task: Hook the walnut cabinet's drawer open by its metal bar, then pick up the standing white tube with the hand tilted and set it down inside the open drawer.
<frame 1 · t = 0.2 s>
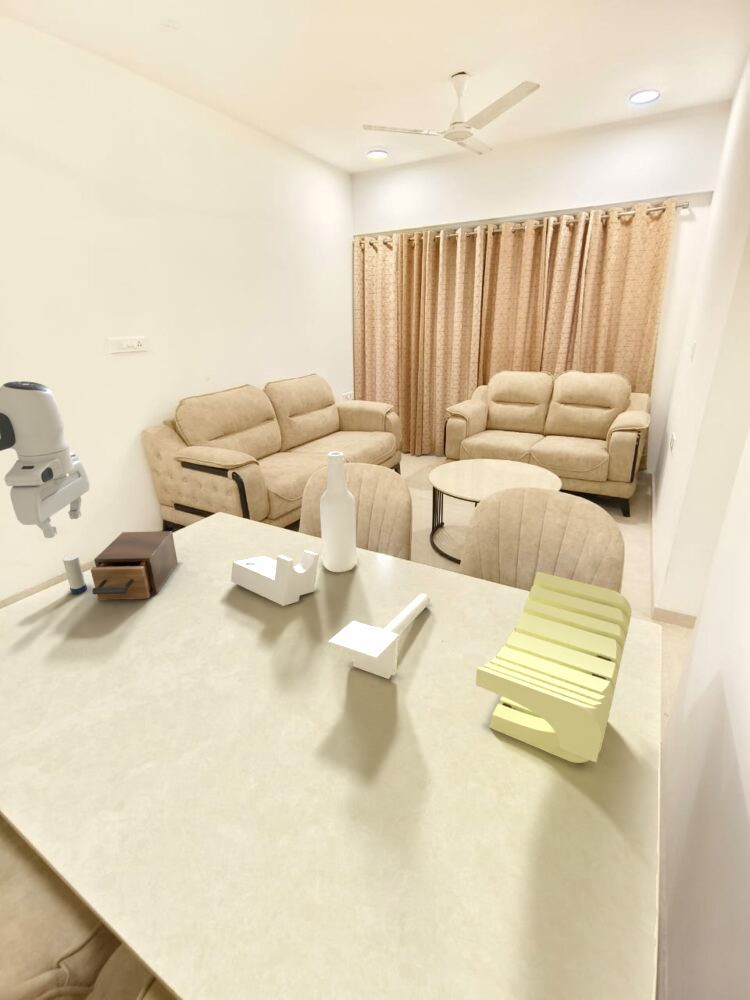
hand: (64, 526, 105), 20 cm above the table, tool pointing down, fingers open, 8 cm apart
alcohol: (340, 565, 130), on the table
slatted curved stool: (550, 721, 81), on the table
white cradle stand: (276, 587, 120), on the table
tube: (79, 590, 120), on the table
cabinet: (142, 578, 124), on the table
drawer: (127, 574, 117), point 5 cm above the table, slide at 2.0 cm
white block on rod: (393, 644, 100), on the table
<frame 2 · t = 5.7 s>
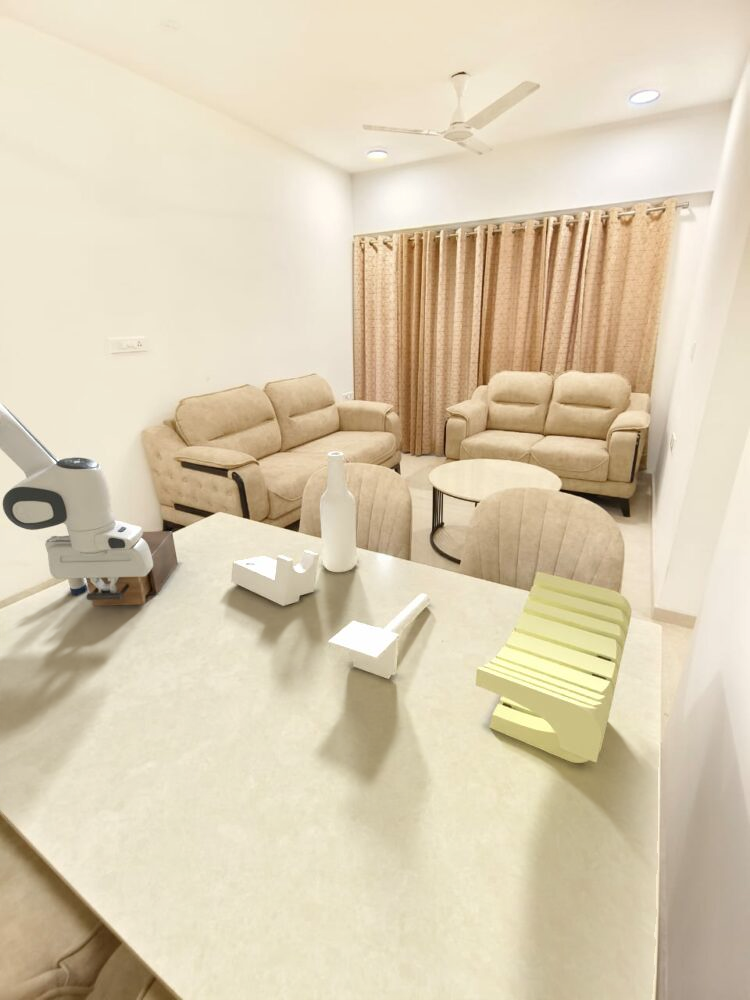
hand: (108, 592, 108), 6 cm above the table, tool pointing down, fingers closed, pressing on drawer
drawer: (123, 579, 115), point 5 cm above the table, slide at 4.3 cm, touching gripper
everything else where it was.
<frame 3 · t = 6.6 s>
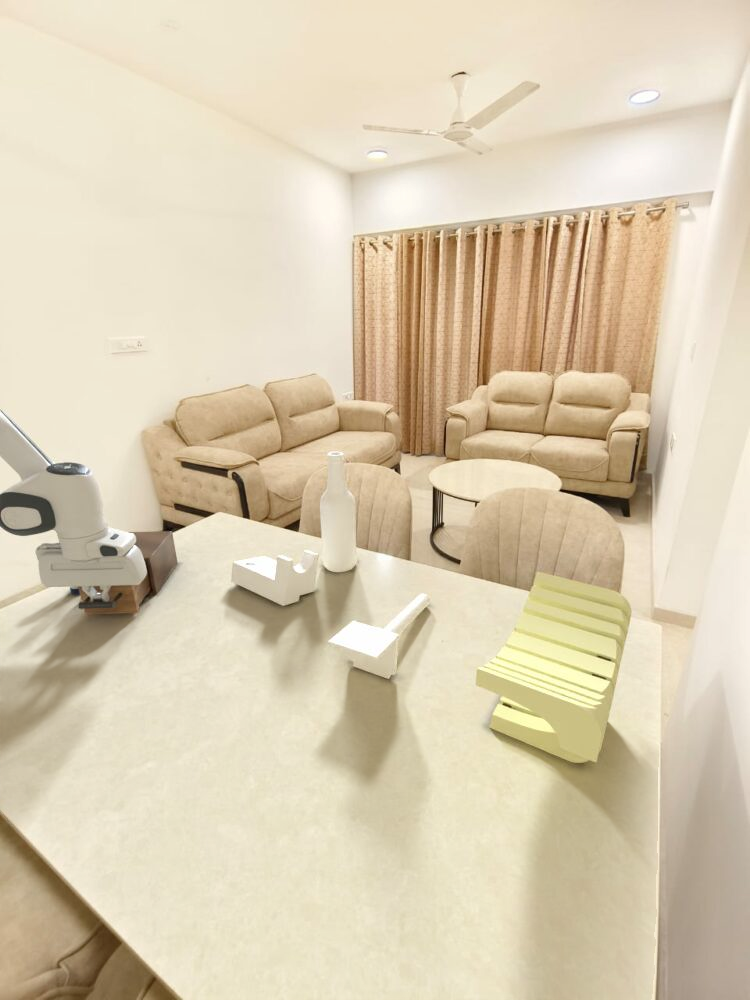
hand: (100, 601, 105), 6 cm above the table, tool pointing down, fingers closed, pressing on drawer
drawer: (116, 587, 112), point 5 cm above the table, slide at 7.7 cm, touching gripper
everything else where it was.
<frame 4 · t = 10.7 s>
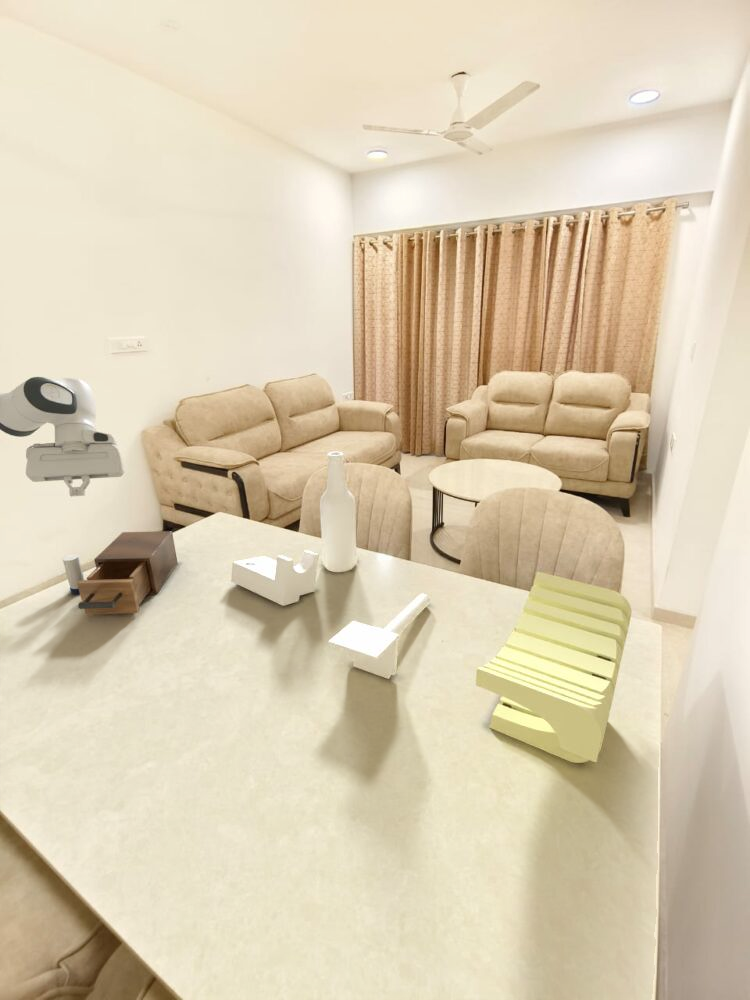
hand: (77, 495, 118), 22 cm above the table, tool tilted 40°, fingers closed
drawer: (116, 587, 112), point 5 cm above the table, slide at 7.7 cm
everything else where it was.
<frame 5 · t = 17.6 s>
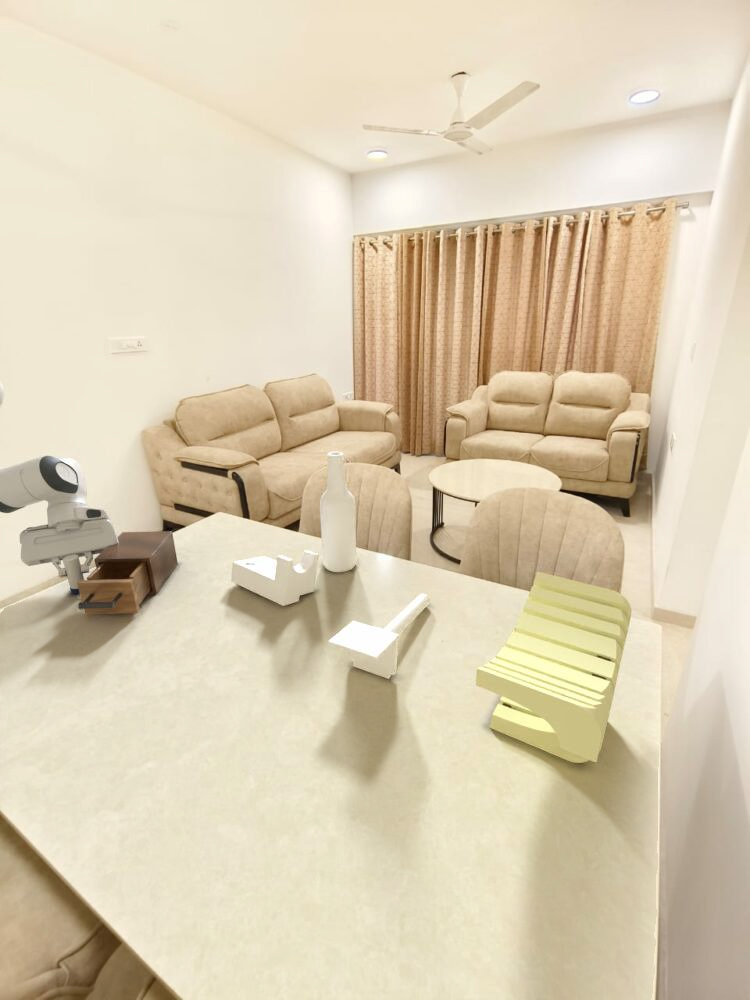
hand: (74, 574, 117), 5 cm above the table, tool tilted 45°, fingers closed on tube, 3 cm apart
tube: (79, 590, 120), on the table, touching gripper
everything else where it was.
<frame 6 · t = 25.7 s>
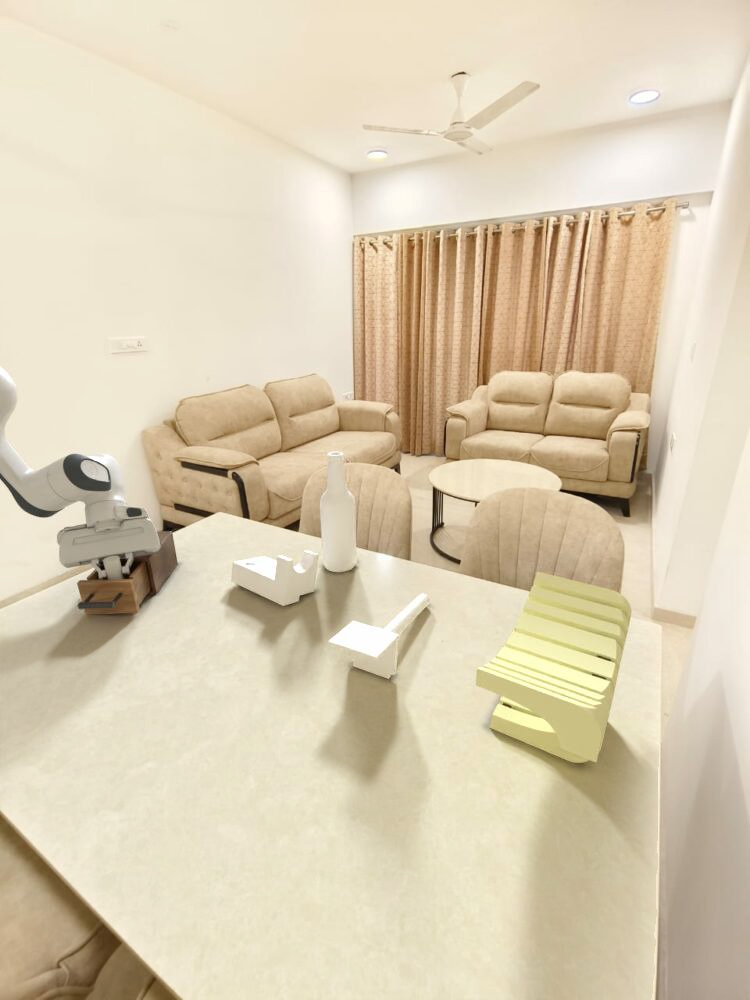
hand: (115, 577, 110), 8 cm above the table, tool tilted 45°, fingers closed on tube, 3 cm apart
tube: (119, 594, 113), point 3 cm above the table, touching gripper
everything else where it was.
when the fingers open (9 cm above the table, at t = 33.6 s): tube drops 3 cm, resting on drawer.
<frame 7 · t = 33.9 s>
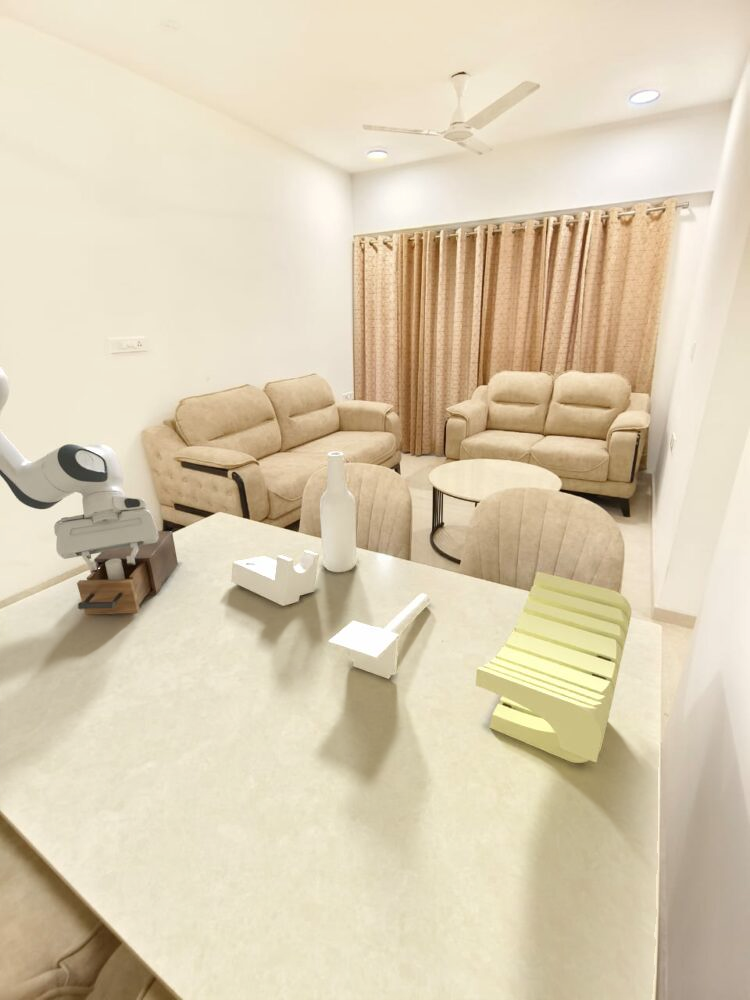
hand: (113, 568, 110), 10 cm above the table, tool tilted 45°, fingers open, 6 cm apart
tube: (120, 597, 113), point 2 cm above the table, touching drawer
drawer: (116, 587, 112), point 5 cm above the table, slide at 7.7 cm, touching tube
everything else where it was.
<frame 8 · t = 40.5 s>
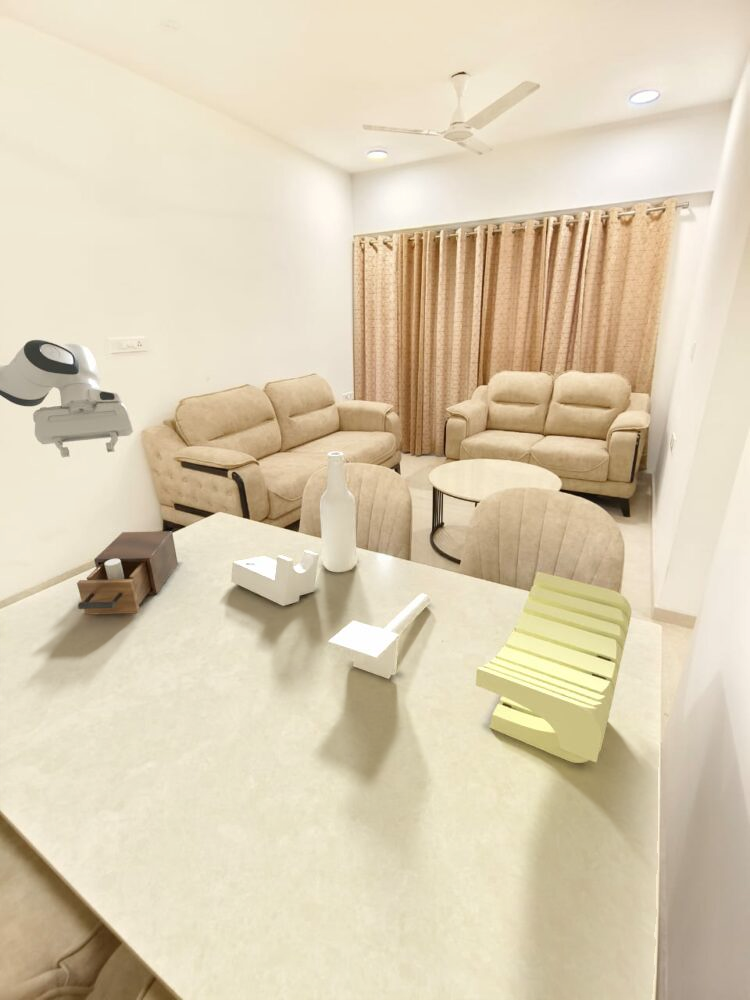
hand: (88, 453, 117), 31 cm above the table, tool tilted 45°, fingers open, 8 cm apart
nothing on the table moved.
at the end: drawer slide at 7.7 cm; tube inside the target area in the drawer (3.7 cm from its centre), point 2.0 cm above the cabinet's base; the gripper is holding nothing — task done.
